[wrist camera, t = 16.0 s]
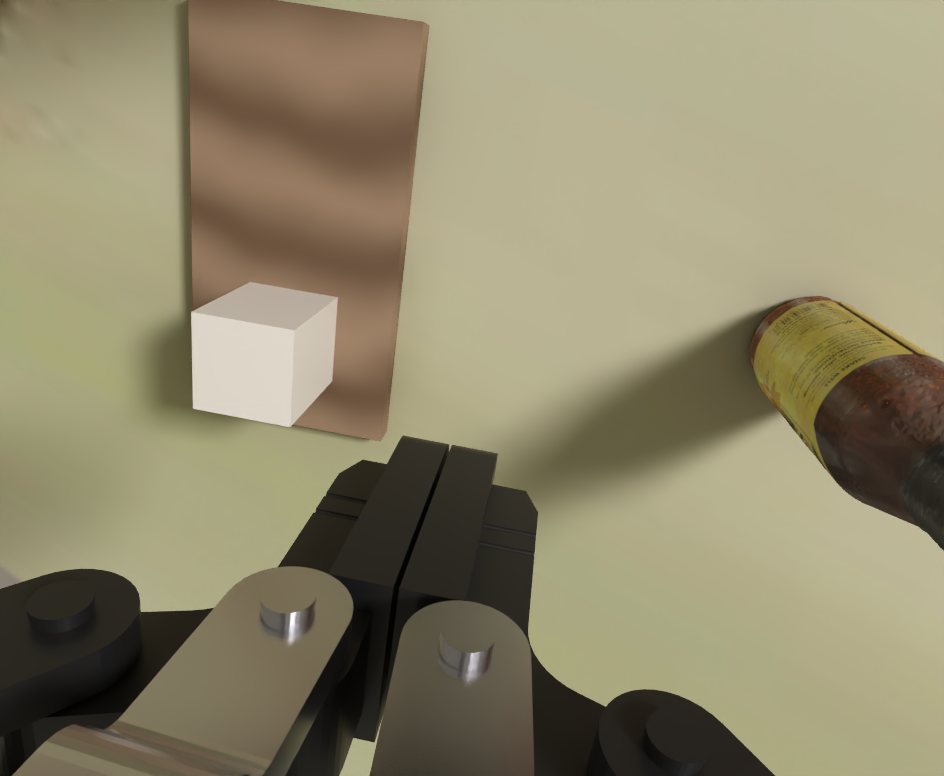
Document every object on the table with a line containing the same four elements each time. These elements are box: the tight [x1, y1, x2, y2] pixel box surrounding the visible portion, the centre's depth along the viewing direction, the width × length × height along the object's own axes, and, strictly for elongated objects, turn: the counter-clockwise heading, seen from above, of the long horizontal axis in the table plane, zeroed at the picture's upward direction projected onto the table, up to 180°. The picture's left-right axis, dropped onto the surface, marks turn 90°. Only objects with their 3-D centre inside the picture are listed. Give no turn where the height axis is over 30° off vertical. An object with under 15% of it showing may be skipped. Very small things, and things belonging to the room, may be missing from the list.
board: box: [188, 0, 429, 441], centre depth 39 cm, size 23×12×2 cm, turn 172°
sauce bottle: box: [750, 296, 944, 550], centre depth 29 cm, size 6×6×20 cm
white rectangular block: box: [191, 282, 338, 427], centre depth 37 cm, size 5×5×7 cm
